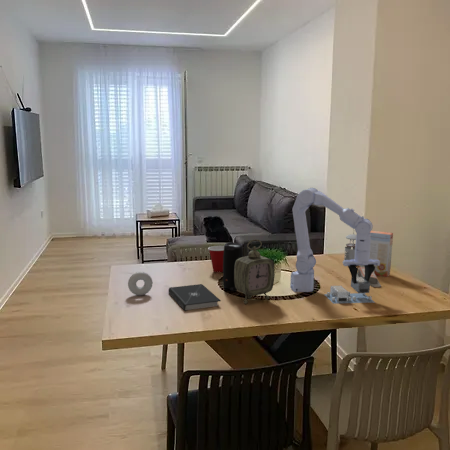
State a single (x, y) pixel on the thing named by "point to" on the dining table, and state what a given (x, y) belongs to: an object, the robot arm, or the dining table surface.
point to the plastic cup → (217, 257)
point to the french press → (350, 252)
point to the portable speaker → (230, 263)
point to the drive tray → (352, 298)
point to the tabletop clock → (254, 274)
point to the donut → (133, 281)
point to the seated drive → (339, 293)
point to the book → (193, 297)
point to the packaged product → (373, 278)
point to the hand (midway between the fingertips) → (360, 282)
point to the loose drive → (361, 285)
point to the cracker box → (381, 252)
